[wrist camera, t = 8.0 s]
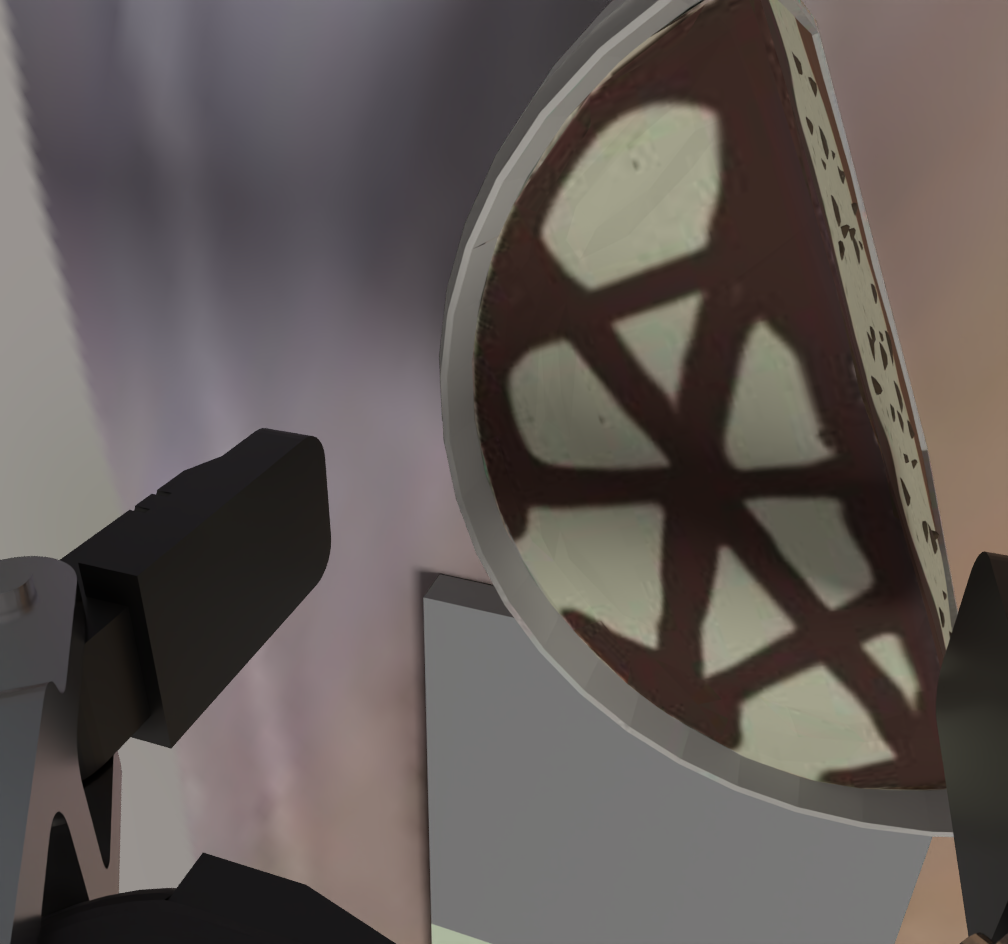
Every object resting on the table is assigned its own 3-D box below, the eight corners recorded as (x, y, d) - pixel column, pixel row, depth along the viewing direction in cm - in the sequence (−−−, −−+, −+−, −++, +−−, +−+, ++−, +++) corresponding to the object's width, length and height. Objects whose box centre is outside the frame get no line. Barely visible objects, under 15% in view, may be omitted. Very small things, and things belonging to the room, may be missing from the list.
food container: (504, 74, 19) (239, 134, 11) (795, -64, 17) (737, -122, 8) (684, 558, 23) (590, 875, 15) (944, 511, 21) (1008, 867, 12)
